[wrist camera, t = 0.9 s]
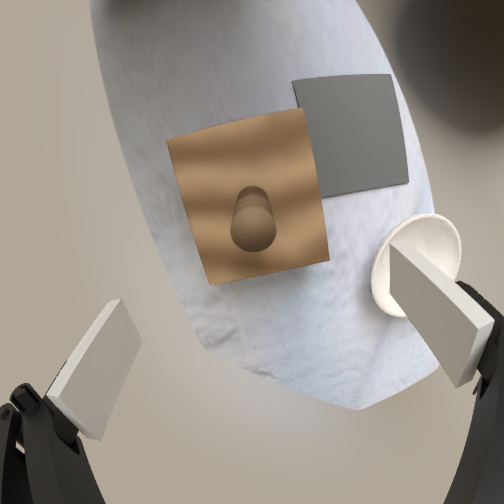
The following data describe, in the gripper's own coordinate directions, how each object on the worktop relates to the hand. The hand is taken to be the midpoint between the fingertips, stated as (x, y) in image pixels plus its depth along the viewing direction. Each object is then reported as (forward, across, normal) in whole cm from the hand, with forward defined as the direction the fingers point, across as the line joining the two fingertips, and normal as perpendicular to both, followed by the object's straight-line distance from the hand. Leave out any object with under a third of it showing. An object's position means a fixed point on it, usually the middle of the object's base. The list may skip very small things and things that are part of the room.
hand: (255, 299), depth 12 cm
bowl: (+32, +25, -18) cm, 45 cm away
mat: (+32, +18, +5) cm, 37 cm away
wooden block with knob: (+32, 0, 0) cm, 32 cm away
